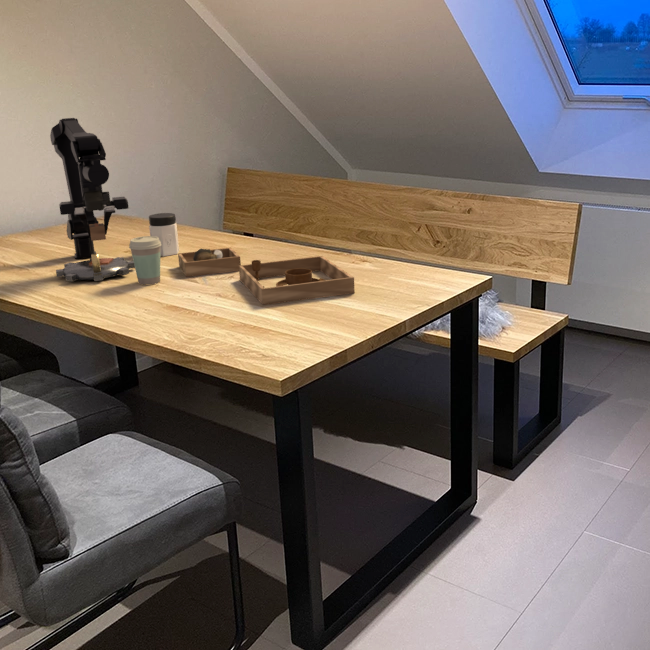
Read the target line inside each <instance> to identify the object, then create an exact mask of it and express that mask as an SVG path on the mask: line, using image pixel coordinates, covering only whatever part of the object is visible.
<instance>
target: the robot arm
mask: <svg viewBox="0 0 650 650" xmlns="http://www.w3.org/2000/svg"><path fill="white" fill-rule="evenodd" d="M49 137H50V142H51V145H52V146H53V148H54V152H55V154H57V155H58V156H59V157H60V158H61V160H62V164H63V165H62V166H63V170H64V175H65V176H64V177H65V180H66V186H67V189H68V191H67V192H68V195H69V200H68V201H61V202H59V204H58V206H59V212H60V215H61V216H64V215H67V218H68V219H67V222H66V223H67V225H66V235H67V238H68V239H69V240H70V241H71V240H73V243H74V251H75V253H74V259H76V260H79V259H80V258H81V259H88V258H89V259H90V258H92V257H91V254H97V252H96V250H95V246H94V244H95V243H94V241H92V240H91V233H90V228H89V225H90V224H100V223H99V220H98V219H97V216H95V213H94V211H100V212H101V211H103V224H104V228H105V236H106V235H107V232H108V227H109V224H110V223H109V222H110V220H111V218H112V217H111V216H112V214H115V213H116V212H117V211H116V210H119V211H120V210H128V209H129V208H130V207H129V202H128V199H127V198H126V197H125V196H115V197H112V200H111V196H110V192H109V191H103V185H104V184H106V183H107V182H108V180H109V178H110V172H109V169H108V168H107V167H106V166H105V165H104V164H102V162H101V161H106V160H107V159H106V155H107V154H106V151H105V148H104V145H103V143H102V141H101V139H100V138H99V137H98V136H97V135H96V134H94V133H91V132H87V131H85V129H84V128H83V127H82V126H81V124H80V123H79V119H78V118H75V117H67V118H61V119H59V121H58V123H56V124H55V125H54V126H53V127H51V131H50V135H49Z"/></svg>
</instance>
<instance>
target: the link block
mask: <svg viewBox="0 0 650 650" xmlns="http://www.w3.org/2000/svg"><path fill="white" fill-rule="evenodd" d="M89 228H90V233H91V240H92V241H93V242H94V241H95V242H96V241H104V240H107V236H106V235H105V228H104V222H102V223H99V224H90V225H89Z"/></svg>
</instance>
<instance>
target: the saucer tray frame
mask: <svg viewBox="0 0 650 650" xmlns="http://www.w3.org/2000/svg"><path fill="white" fill-rule="evenodd" d="M296 268H306V269H310V270H311V271H312V273H313V272H321V273H323V274H325V275H326V277H327V276H328V277H329V278H330V279H325V281H317V282H309V283H301V284H293V285H288V284H286V285H283V286H277V287H276V286H272V287H271V286H270V287H265V286H264V285H262V284H261V282H260V281H257V280H256V278H255V275H256V274H255V272H256V271H253V269H252V263H249V264H241V265H240V266H239V271H238V272H239V273H238V274H239V281H240V282H241V283H242V284H243V285H244V286H245V287H246V288H247V289H248V290H249V291H250V293H251V294H252V295H253V296H254V297H255V298H256V299H257V300H258V301H259V302H260V303H261V304H262V306H267V305H275V304H281V303H290V302H298V301H304V300H313V299H319V298H328V297H336V296H341V295H342V296H343V295H350V294H351V295H352V294H355V290H356V289H355V277H354V276H352V275H351V274H349V273H348V272H346V271H345V270H344V269H342V268H341V267H339V266H337V265H336V264H334V263H333V262H332V261H330V260H329V259H327V258H326V257H324V256H323V255H318V256H317V255H316V256H309V257H302V258H301V257H300V258H293V259H283V260H276V261H275V260H273V261H267V262H261V269H260V271H257V272H258V275H259V278H258V279H267V278H271V277H272V278H273V277H282V276H285V272H286V271H287V270H290V269H296ZM263 286H264V287H265V288H264V287H263Z"/></svg>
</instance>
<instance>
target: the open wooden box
mask: <svg viewBox="0 0 650 650" xmlns="http://www.w3.org/2000/svg"><path fill="white" fill-rule="evenodd" d="M215 250H220V251H221V252H222V254H223V256H222V258H218V259H210V260H201V261H194V260H193V257H194V254H195V252H197V251H198V250H196V251H189V252H178V254H177V255H178V258H177V259H178V267H179V269H180V271H181V272H182V273H183V275H184V276H185V277H186V278H188V277H198V276H206V274H207V275H215V273H216V274H221V273H231V272H239V266H240V265H242V263H241V256H240V255H239V254H238V253H237V251H235V250H234V249H233V248H232V247H226V248H225V247H224V248H216V249H210V251H211V252H212V254H213V253H214V251H215Z"/></svg>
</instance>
